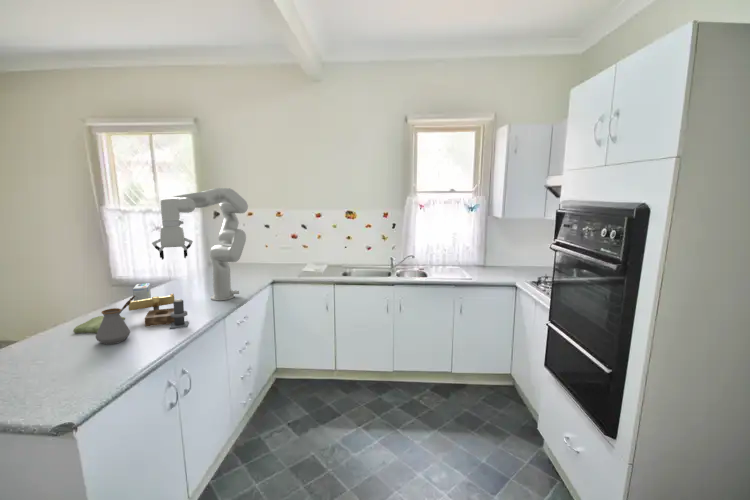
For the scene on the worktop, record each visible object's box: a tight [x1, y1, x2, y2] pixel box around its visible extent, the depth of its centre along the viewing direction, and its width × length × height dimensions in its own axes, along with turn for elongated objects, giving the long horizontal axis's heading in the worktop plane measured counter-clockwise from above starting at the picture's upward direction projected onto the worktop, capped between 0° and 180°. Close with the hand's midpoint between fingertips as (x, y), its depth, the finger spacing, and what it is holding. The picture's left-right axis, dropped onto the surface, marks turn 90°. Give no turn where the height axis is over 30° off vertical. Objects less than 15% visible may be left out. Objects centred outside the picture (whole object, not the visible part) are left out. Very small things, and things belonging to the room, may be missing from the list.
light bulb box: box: [132, 282, 152, 301], centre depth 190 cm, size 11×7×11 cm, turn 25°
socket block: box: [144, 306, 175, 327], centre depth 168 cm, size 12×14×5 cm
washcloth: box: [72, 315, 126, 334], centre depth 158 cm, size 13×18×3 cm
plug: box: [171, 298, 188, 326], centre depth 161 cm, size 7×7×12 cm
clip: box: [127, 293, 175, 312], centre depth 170 cm, size 3×19×5 cm, turn 133°
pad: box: [169, 320, 189, 330], centre depth 162 cm, size 7×7×1 cm
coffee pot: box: [95, 295, 138, 345], centre depth 147 cm, size 21×12×15 cm, turn 2°
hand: (174, 258), depth 172 cm, fingers open, 9 cm apart
